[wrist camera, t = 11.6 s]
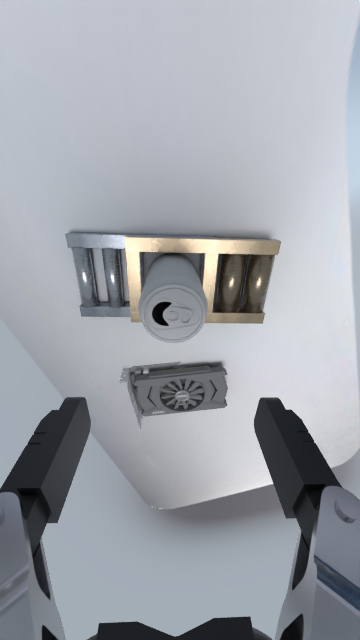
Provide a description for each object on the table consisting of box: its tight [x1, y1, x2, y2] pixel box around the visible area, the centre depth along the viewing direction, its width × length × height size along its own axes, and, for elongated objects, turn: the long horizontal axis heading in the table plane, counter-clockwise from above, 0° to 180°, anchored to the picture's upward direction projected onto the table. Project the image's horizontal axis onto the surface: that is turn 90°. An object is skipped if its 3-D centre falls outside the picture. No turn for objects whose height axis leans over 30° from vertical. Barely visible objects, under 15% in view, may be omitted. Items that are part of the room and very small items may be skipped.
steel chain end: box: [66, 232, 217, 317], centre depth 29 cm, size 11×18×2 cm, turn 88°
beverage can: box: [138, 253, 208, 343], centre depth 25 cm, size 6×6×12 cm
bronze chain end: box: [125, 236, 281, 324], centre depth 29 cm, size 11×18×3 cm, turn 88°
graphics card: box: [120, 362, 228, 429], centre depth 39 cm, size 17×4×12 cm
